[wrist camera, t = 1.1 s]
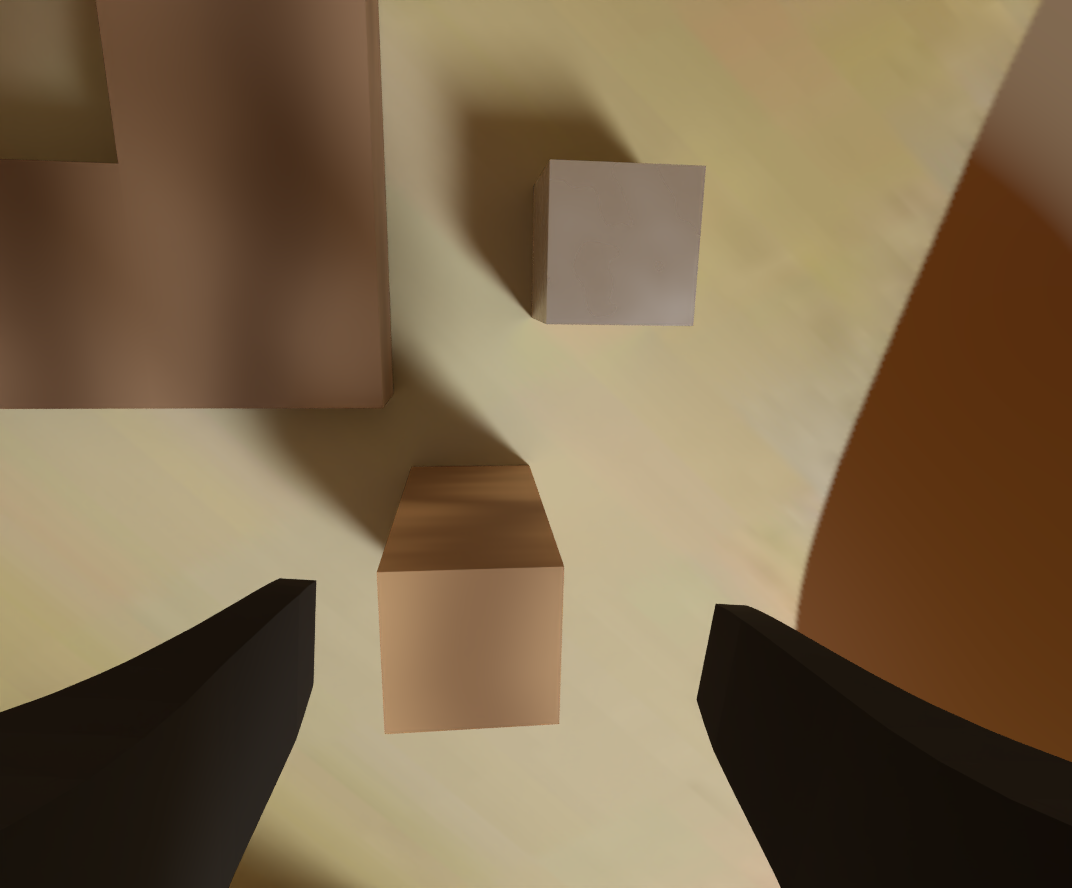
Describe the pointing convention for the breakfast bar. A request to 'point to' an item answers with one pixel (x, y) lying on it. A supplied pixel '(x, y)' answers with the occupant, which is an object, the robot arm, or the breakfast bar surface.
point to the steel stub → (616, 243)
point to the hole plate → (209, 220)
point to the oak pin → (470, 603)
